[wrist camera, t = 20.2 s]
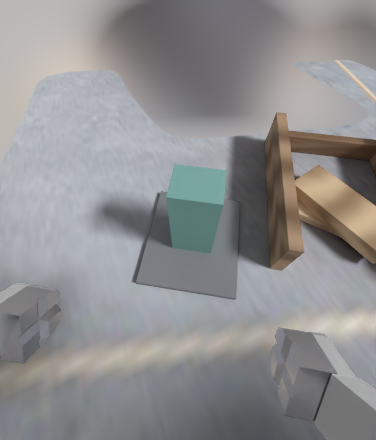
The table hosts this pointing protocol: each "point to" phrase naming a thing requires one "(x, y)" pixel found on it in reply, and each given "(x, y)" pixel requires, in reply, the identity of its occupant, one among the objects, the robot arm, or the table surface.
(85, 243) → the table surface
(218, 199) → the teal block
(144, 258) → the charcoal mat
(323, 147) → the walnut rack
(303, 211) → the oak offcut lower
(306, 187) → the oak offcut upper
